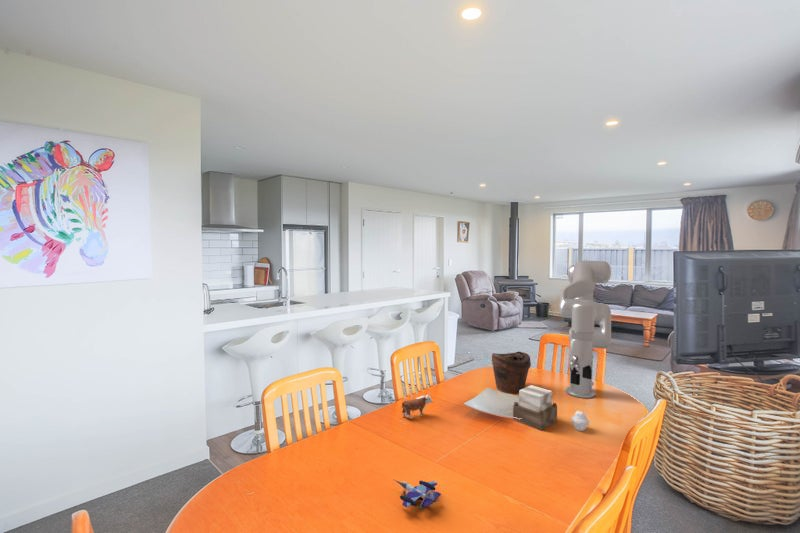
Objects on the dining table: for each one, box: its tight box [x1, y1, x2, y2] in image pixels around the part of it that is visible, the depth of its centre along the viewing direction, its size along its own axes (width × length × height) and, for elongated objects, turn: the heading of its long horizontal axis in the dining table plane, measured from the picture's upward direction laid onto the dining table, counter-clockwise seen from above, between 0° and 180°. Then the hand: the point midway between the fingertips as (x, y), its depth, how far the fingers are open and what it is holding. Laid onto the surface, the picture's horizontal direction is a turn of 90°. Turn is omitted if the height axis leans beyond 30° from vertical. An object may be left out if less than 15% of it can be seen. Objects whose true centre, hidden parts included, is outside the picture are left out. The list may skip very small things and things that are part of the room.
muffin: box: [570, 410, 590, 432], centre depth 150 cm, size 6×6×7 cm
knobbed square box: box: [512, 384, 558, 431], centre depth 157 cm, size 12×12×12 cm
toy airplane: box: [394, 479, 442, 511], centre depth 109 cm, size 13×14×4 cm
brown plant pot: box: [491, 351, 532, 394], centre depth 192 cm, size 18×20×18 cm
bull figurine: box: [401, 394, 434, 420], centre depth 162 cm, size 4×13×8 cm, turn 112°
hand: (581, 381), depth 149 cm, fingers open, 9 cm apart
